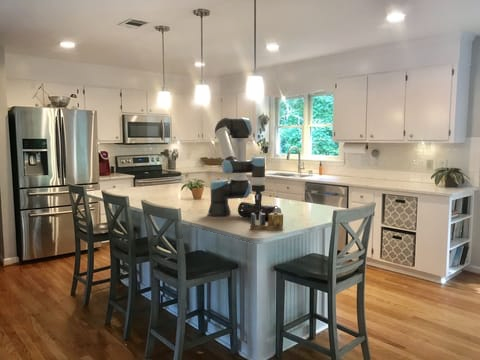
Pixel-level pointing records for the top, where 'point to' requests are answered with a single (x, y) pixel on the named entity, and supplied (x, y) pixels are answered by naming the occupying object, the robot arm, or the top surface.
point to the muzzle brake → (250, 208)
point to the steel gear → (262, 219)
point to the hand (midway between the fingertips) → (258, 223)
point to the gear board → (266, 227)
